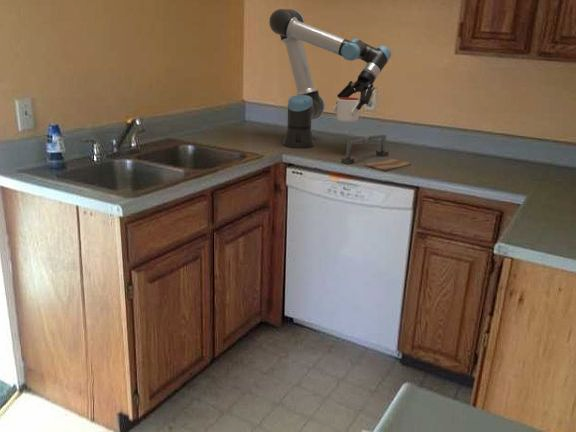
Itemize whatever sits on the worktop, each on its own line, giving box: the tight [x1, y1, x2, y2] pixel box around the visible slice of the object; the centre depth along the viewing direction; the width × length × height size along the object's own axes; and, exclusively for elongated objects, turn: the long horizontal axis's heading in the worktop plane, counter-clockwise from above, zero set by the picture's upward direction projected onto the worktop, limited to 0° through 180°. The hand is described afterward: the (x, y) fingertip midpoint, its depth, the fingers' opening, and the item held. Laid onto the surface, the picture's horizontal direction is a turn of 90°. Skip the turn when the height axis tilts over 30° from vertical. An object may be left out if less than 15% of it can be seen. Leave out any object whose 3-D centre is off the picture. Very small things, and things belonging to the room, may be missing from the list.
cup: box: [336, 96, 360, 123], centre depth 248 cm, size 10×10×10 cm
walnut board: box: [364, 158, 412, 172], centre depth 236 cm, size 11×18×1 cm, turn 132°
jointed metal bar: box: [341, 134, 389, 165], centre depth 244 cm, size 5×28×10 cm, turn 132°
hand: (343, 112), depth 246 cm, fingers closed on cup, 10 cm apart
